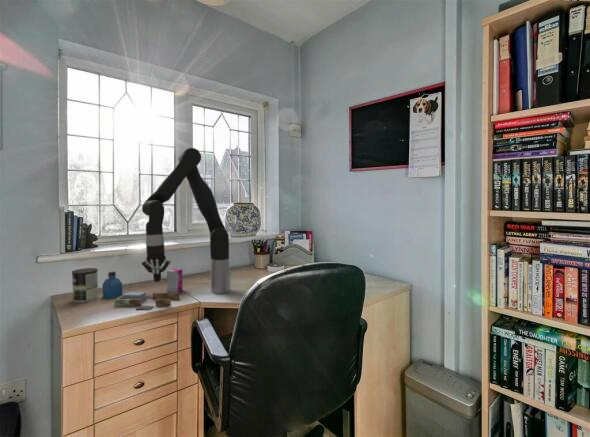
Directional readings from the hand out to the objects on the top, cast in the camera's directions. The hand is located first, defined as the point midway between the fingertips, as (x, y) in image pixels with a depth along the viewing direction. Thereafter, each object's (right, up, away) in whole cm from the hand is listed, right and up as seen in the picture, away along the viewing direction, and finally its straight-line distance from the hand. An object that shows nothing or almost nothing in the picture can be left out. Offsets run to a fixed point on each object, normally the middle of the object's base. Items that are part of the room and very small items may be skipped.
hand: (157, 281), depth 142 cm
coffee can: (-38, -10, +7) cm, 40 cm away
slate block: (-12, -10, +3) cm, 16 cm away
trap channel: (-5, -10, +1) cm, 11 cm away
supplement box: (+1, -9, +19) cm, 21 cm away
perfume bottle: (-28, -10, +12) cm, 32 cm away
